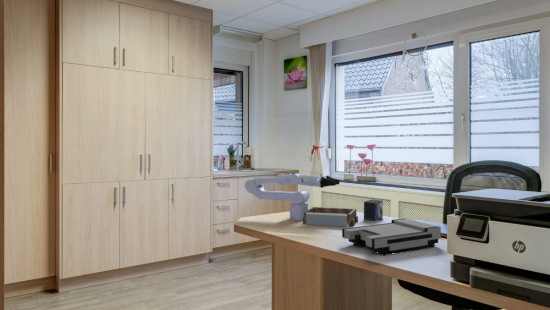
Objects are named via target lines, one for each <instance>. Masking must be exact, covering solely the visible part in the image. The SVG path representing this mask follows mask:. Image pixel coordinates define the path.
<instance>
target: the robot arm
mask: <svg viewBox="0 0 550 310" xmlns="http://www.w3.org/2000/svg"><path fill="white" fill-rule="evenodd" d="M340 182H341V181H340V179H338V178H337V179H336V178H333V177H331V176H329V175H326V176H325V177H324V176H323V173H319V175H315V174H300V173H293V174H292V172H290V173H286V174H284V173H283V172H281V173H279V174H278V175H277V176H262V177H256V178H251V179H247V180H246V181H245V183H244V188H245V190H246V192H247V193H249V194H250V195H253V196H254V197H256V198H257V199H259V200H270V201H272V200H273V201H284V202H285V201H287V202H288V201H289V202H290V203H291V202H292V203H291V204H290V206H289V220H297V221H303V217H304V212H305V211H307V210H308V209H309V199H310V193H309V191H308V190H305V189H302V190H299V191H281V190H265V188H264V185H265V184H277V185H278V186H291V185H292V186H297V185H298V186H299V185H301V186H306V187H318V188H321V189H322V188H325V187H334V186H337V185H340Z"/></svg>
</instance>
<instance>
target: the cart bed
mask: <svg viewBox="0 0 550 310" xmlns="http://www.w3.org/2000/svg"><path fill="white" fill-rule="evenodd" d="M306 212H314V213H335V214H347V227H346V228H352V227H354V226H355V225H356V224H357V223H358V222H359V216H358V215H357V208H344V207H326V206H325V207H323V206H322V207H321V206H311V208H308V210H307V211H305V212H304V217H303V220H302V224H304V225H306Z"/></svg>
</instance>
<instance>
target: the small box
mask: <svg viewBox="0 0 550 310" xmlns="http://www.w3.org/2000/svg"><path fill="white" fill-rule="evenodd" d="M383 202H384V201H383V200H381V199H373V198H372V199H369V200H365V201H364V202H363V220H364V221H369V222H370V221H371V222H377V221H383V220H384V219H383V218H384V217H383V215H384V214H383V212H384V208H383V206H384V203H383Z"/></svg>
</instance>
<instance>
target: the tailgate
mask: <svg viewBox="0 0 550 310" xmlns="http://www.w3.org/2000/svg"><path fill="white" fill-rule="evenodd" d="M305 225H308V226H326V227H338V228H348V227H347V214H335V213H314V212H306V224H305Z"/></svg>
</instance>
